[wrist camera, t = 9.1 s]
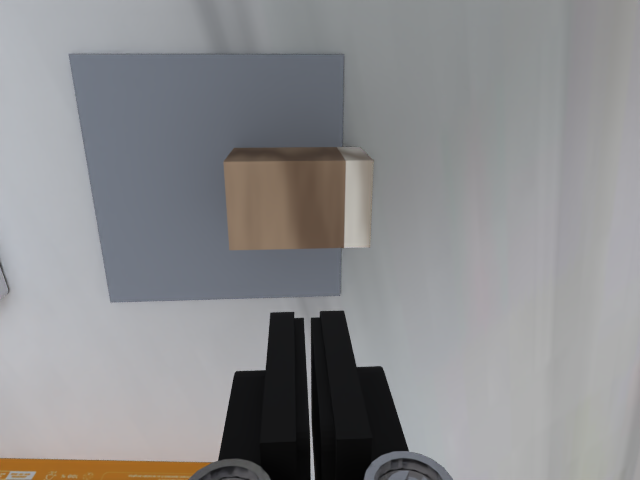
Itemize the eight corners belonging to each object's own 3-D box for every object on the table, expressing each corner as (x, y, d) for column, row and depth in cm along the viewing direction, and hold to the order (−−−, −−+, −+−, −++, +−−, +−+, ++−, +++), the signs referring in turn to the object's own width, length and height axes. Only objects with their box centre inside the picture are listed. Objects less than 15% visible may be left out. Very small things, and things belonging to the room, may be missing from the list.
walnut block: (373, 160, 25) (223, 161, 25) (370, 247, 27) (229, 250, 26) (360, 146, 30) (233, 147, 29) (357, 221, 31) (238, 223, 31)
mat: (343, 54, 28) (344, 54, 28) (339, 293, 34) (340, 295, 33) (71, 54, 27) (68, 54, 27) (112, 299, 33) (110, 302, 32)
